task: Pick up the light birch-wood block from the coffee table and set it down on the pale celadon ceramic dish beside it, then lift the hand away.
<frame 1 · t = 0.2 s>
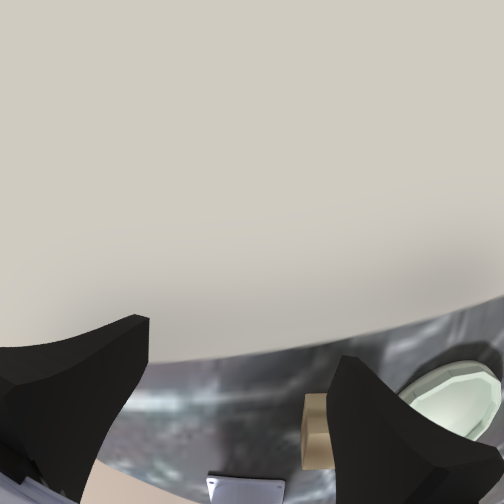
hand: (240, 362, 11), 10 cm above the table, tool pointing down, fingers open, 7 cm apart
birch block: (330, 412, 23), on the table
celadon dish: (438, 416, 23), on the table
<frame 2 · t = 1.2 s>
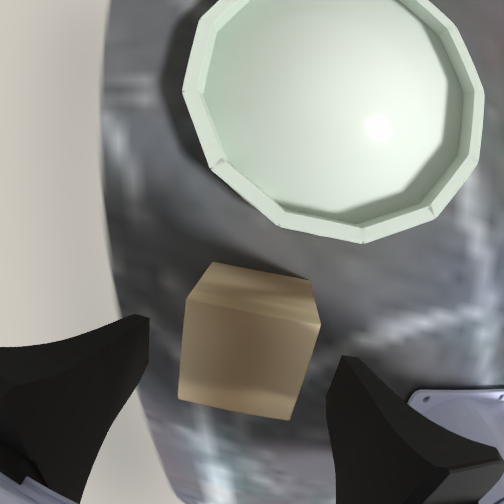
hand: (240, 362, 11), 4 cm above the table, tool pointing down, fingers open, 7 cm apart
birch block: (252, 314, 15), on the table
celadon dish: (342, 88, 12), on the table
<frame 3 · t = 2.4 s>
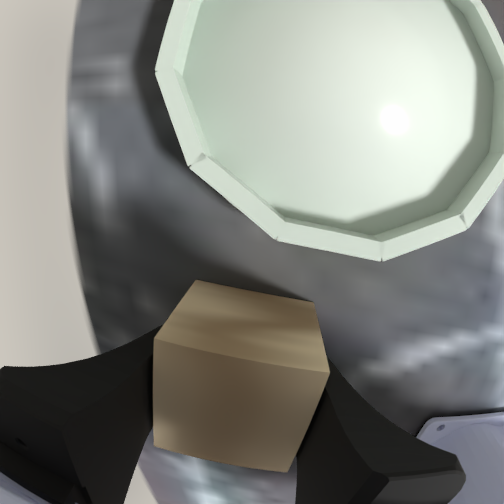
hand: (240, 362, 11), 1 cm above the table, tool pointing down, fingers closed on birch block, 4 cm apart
birch block: (244, 342, 12), on the table, touching gripper
celadon dish: (353, 69, 9), on the table
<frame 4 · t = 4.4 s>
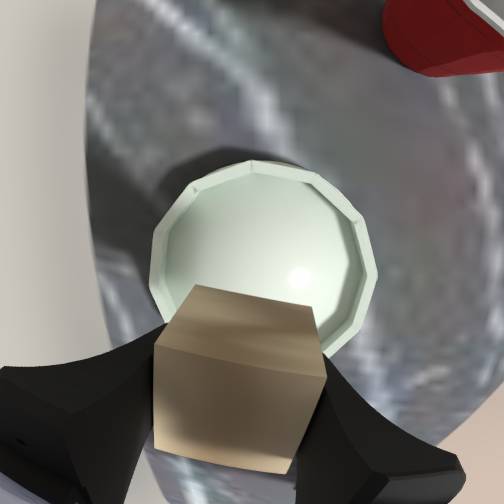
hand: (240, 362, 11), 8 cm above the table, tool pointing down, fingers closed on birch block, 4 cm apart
birch block: (243, 345, 13), point 7 cm above the table, touching gripper
plastic cup: (417, 38, 15), on the table
celadon dish: (262, 272, 19), on the table
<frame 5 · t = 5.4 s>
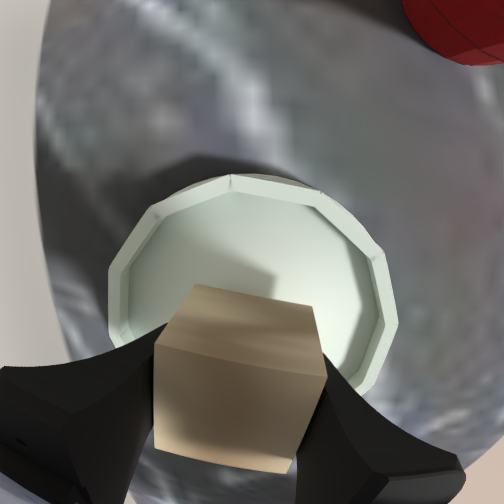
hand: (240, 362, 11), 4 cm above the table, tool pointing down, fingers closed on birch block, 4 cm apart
birch block: (243, 345, 13), point 2 cm above the table, touching gripper
plastic cup: (444, 17, 10), on the table
celadon dish: (249, 317, 15), on the table
when the fingers open (4 cm above the table, at t = 6.2 s): birch block drops 1 cm, resting on celadon dish.
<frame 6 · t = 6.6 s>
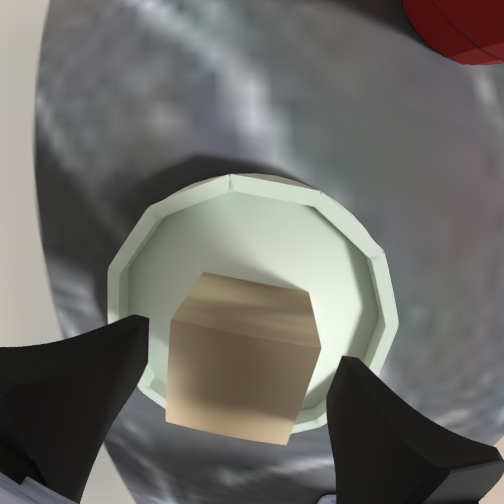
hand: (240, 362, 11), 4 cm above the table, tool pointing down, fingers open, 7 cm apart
birch block: (247, 328, 14), point 1 cm above the table, touching celadon dish
plastic cup: (445, 17, 10), on the table
celadon dish: (249, 317, 15), on the table
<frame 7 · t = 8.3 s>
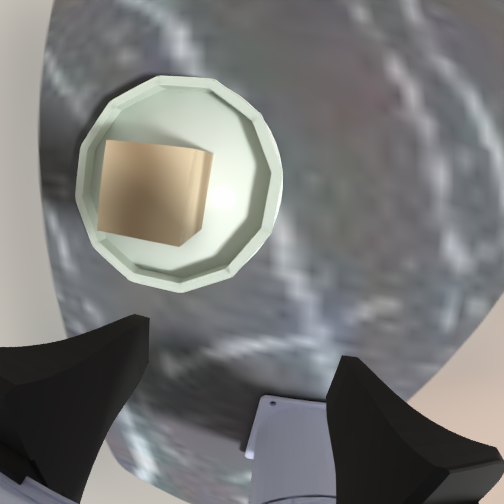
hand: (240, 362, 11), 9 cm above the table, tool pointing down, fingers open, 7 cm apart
birch block: (171, 185, 18), point 1 cm above the table, touching celadon dish
celadon dish: (175, 182, 19), on the table
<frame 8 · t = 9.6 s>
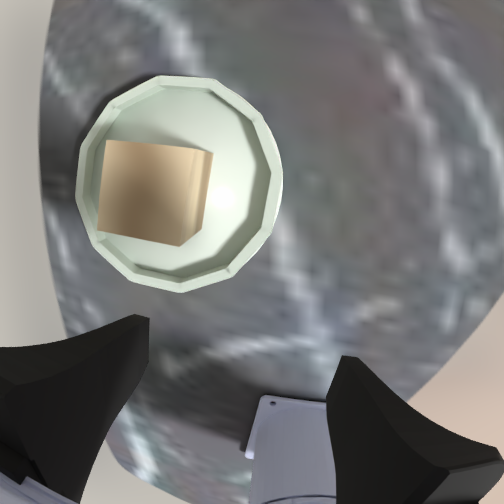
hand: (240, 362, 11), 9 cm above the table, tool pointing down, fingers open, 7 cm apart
birch block: (171, 185, 18), point 1 cm above the table, touching celadon dish
celadon dish: (175, 182, 19), on the table
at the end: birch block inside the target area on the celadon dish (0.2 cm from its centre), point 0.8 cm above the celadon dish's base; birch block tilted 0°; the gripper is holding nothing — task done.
